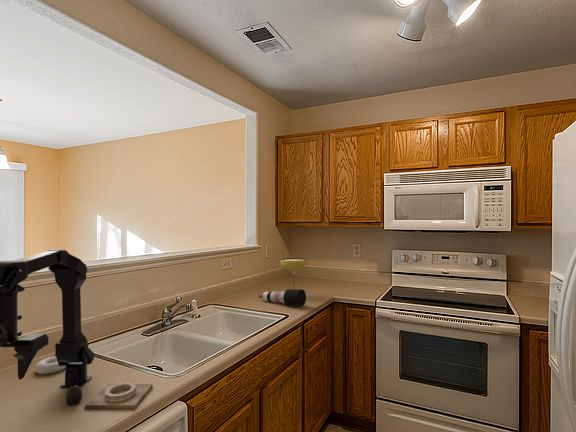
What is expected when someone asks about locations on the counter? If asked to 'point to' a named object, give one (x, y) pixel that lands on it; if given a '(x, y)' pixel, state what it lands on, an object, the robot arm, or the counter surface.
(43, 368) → the donut
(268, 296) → the bottle
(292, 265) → the cocktail glass
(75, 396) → the egg
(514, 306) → the counter surface
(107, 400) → the egg stand
